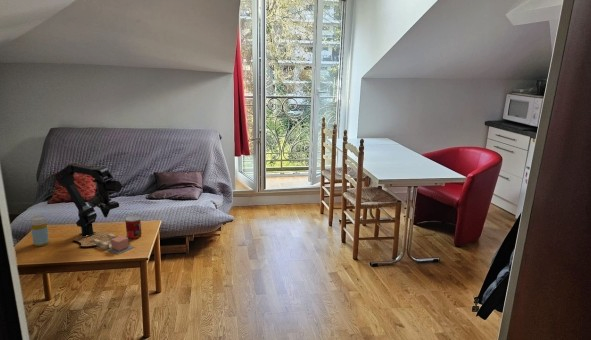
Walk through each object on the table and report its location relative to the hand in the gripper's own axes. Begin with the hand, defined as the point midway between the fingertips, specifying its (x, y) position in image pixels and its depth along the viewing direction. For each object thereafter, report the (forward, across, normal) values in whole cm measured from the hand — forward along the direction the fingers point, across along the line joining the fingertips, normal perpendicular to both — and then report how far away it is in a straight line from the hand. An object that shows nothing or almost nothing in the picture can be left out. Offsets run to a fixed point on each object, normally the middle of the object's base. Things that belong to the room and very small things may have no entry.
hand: (105, 217), depth 226 cm
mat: (+12, +19, -5) cm, 23 cm away
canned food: (+12, +11, +9) cm, 19 cm away
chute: (+12, +8, -5) cm, 15 cm away
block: (+12, +18, -5) cm, 22 cm away
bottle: (+12, -21, -25) cm, 35 cm away
